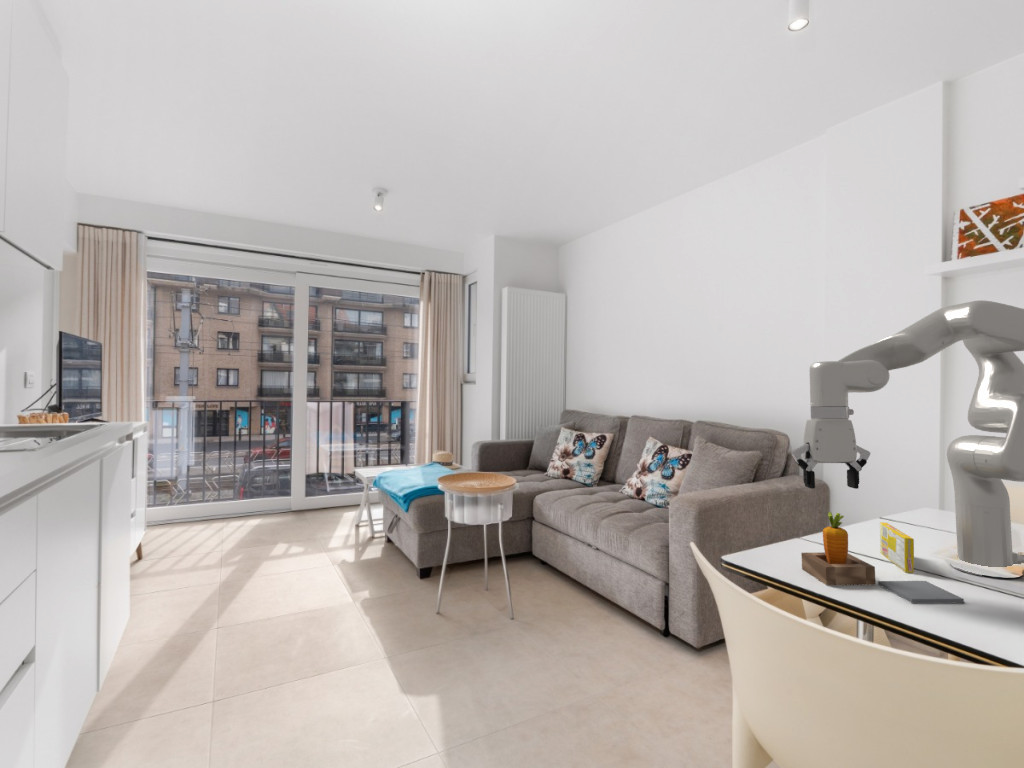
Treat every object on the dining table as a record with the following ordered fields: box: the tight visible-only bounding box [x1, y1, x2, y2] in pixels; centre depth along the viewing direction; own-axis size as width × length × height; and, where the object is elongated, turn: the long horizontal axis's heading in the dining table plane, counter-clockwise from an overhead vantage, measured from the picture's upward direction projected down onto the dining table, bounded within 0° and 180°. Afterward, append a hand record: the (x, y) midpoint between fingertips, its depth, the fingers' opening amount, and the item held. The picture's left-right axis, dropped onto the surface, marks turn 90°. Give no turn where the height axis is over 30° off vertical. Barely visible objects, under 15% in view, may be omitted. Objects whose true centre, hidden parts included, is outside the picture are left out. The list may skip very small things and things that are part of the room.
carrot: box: [822, 511, 849, 564], centre depth 117 cm, size 5×5×15 cm
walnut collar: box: [800, 551, 877, 586], centre depth 116 cm, size 10×10×4 cm
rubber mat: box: [877, 580, 965, 604], centre depth 106 cm, size 10×10×1 cm
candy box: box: [879, 521, 915, 574], centre depth 125 cm, size 16×2×8 cm, turn 161°
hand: (831, 487), depth 117 cm, fingers open, 9 cm apart
